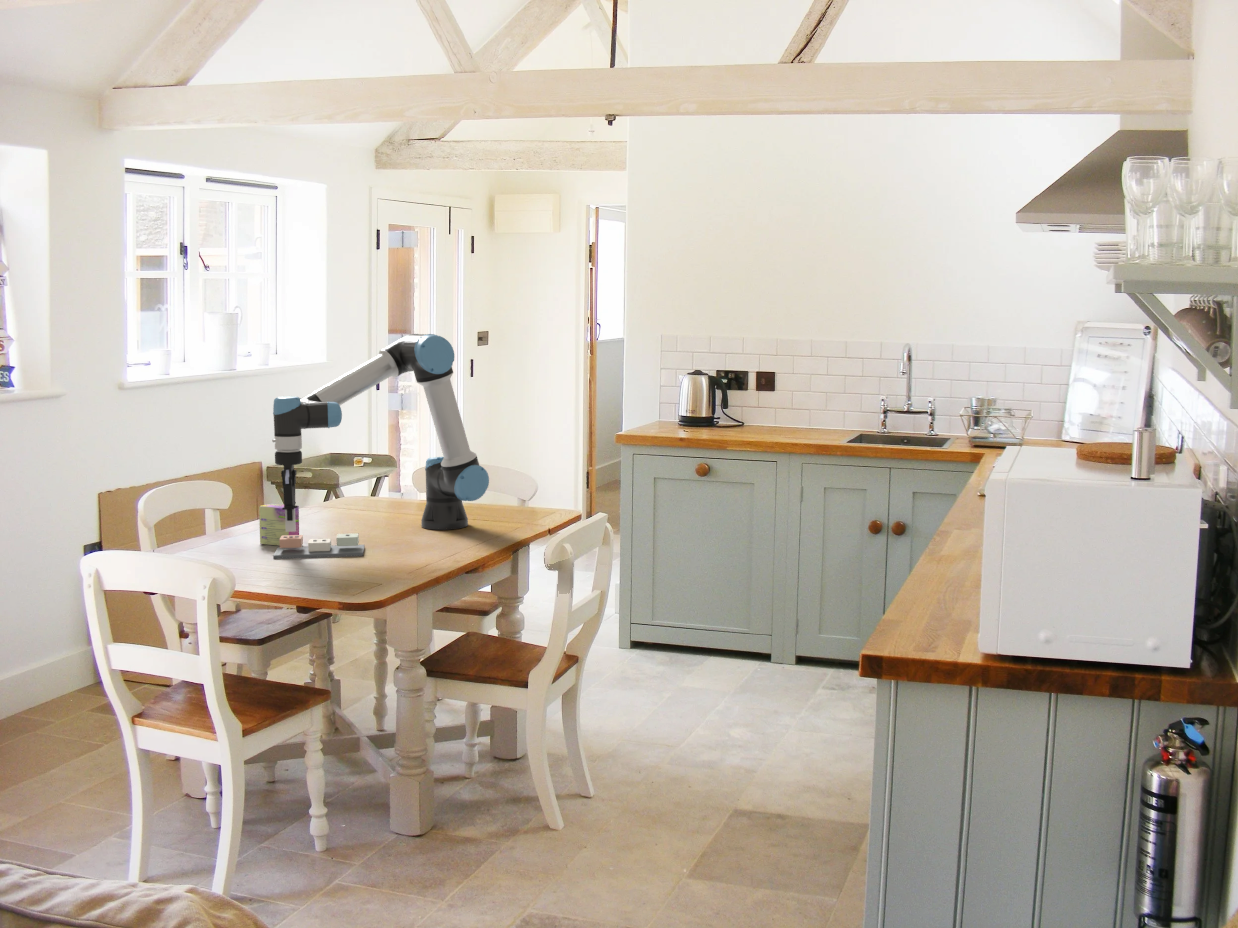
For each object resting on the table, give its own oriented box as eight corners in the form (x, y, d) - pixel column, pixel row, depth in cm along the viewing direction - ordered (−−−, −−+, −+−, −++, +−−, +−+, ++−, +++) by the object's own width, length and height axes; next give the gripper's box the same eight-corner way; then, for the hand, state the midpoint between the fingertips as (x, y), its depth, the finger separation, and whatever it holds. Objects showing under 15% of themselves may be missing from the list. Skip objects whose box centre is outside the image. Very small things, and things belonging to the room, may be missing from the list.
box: (300, 543, 364) (298, 505, 362) (289, 546, 358) (287, 508, 357) (271, 541, 367) (269, 503, 365) (259, 544, 362) (258, 506, 360)
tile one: (358, 541, 354) (358, 532, 353) (357, 545, 348) (357, 536, 347) (337, 542, 353) (337, 533, 352) (336, 546, 347) (336, 537, 346)
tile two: (331, 546, 352) (330, 537, 352) (329, 550, 347) (329, 541, 346) (310, 547, 351) (309, 538, 351) (308, 551, 346) (308, 542, 345)
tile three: (303, 543, 351) (302, 534, 351) (301, 547, 345) (300, 538, 345) (281, 543, 350) (281, 534, 350) (279, 547, 344) (279, 538, 344)
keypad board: (364, 547, 357) (364, 544, 357) (362, 555, 345) (362, 552, 345) (278, 550, 353) (278, 547, 353) (273, 558, 341) (273, 555, 341)
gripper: (277, 447, 350) (279, 527, 353) (272, 453, 337) (274, 535, 340) (303, 447, 351) (305, 526, 354) (299, 452, 338) (301, 534, 341)
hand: (290, 531), depth 347 cm, fingers closed
